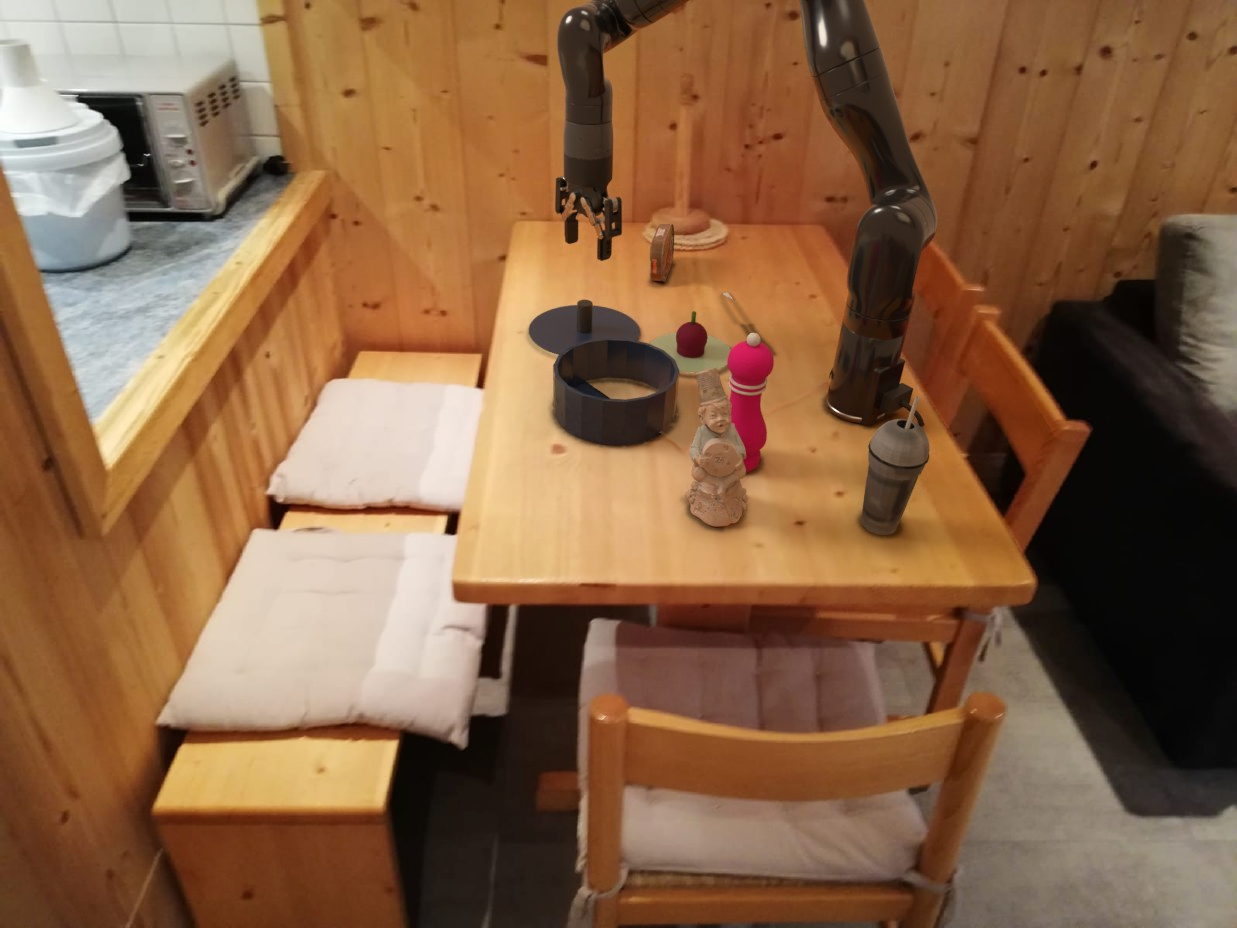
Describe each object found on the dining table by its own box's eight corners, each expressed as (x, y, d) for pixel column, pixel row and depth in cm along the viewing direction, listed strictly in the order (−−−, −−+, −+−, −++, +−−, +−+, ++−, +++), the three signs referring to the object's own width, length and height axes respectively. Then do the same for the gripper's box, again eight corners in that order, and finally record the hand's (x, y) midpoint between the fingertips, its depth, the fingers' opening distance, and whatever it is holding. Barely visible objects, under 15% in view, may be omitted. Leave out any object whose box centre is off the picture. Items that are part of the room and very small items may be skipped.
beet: (712, 353, 151) (716, 313, 147) (689, 362, 148) (693, 321, 144) (691, 341, 154) (695, 301, 150) (668, 349, 151) (671, 309, 147)
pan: (700, 418, 136) (705, 375, 132) (603, 460, 126) (605, 415, 122) (623, 368, 147) (625, 327, 143) (529, 404, 138) (528, 360, 133)
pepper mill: (721, 478, 124) (738, 349, 112) (703, 449, 130) (718, 323, 118) (770, 471, 126) (792, 344, 114) (750, 442, 131) (769, 318, 120)
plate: (749, 360, 151) (750, 356, 151) (687, 386, 144) (687, 381, 143) (692, 328, 160) (692, 324, 159) (631, 350, 152) (631, 346, 152)
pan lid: (662, 341, 155) (664, 309, 152) (572, 373, 145) (573, 340, 142) (594, 300, 167) (595, 270, 164) (507, 328, 157) (506, 296, 154)
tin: (662, 289, 172) (665, 247, 167) (646, 287, 173) (648, 245, 168) (674, 258, 184) (677, 218, 179) (659, 256, 185) (661, 216, 180)
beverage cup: (899, 506, 121) (935, 376, 109) (915, 542, 115) (955, 409, 103) (844, 505, 120) (875, 375, 109) (858, 542, 114) (892, 408, 103)
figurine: (679, 488, 122) (691, 357, 110) (741, 487, 123) (759, 357, 111) (687, 530, 115) (702, 396, 103) (753, 529, 116) (775, 395, 104)
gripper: (637, 157, 135) (633, 259, 145) (579, 134, 144) (579, 232, 153) (597, 166, 131) (596, 271, 141) (540, 141, 140) (542, 242, 149)
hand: (587, 250), depth 147 cm, fingers open, 8 cm apart
